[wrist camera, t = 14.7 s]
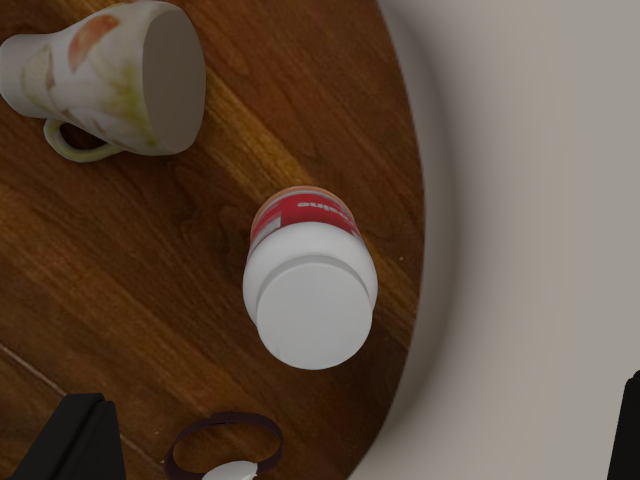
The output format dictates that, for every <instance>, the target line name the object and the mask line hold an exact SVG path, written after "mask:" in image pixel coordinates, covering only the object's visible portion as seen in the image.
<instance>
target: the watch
mask: <svg viewBox="0 0 640 480" xmlns="http://www.w3.org/2000/svg"><path fill="white" fill-rule="evenodd" d="M236 422H240V423H249V424H254V425H258V426H262V427H264V428H266V429H268V430H269V431H271V432H272V433H273V434H274V435H275V436H276V437H277V438H278V440H279V442H280V447H279V449H278V451H277V452H276V453H275V454H274V455H273V456H271V457H270V458H268V459H267V460H264V461H261V462H258V463H254V464H253V463H252V462H248V461H235V462H230V463H227V464H224V465H220V466H218V467H216V468H215V469H213V470H211V471H209V472H208V473H191V472H187V471H185V470H182V469H181V468H180V467H178V466H177V465H176V463H175V461H174V459H173V449H174V446H175V444H176V443H177V442H178V441H179V440H181V439H182V438H184V437H185V436H187V435H189V434H191V433H193V432H195V431H198V430H202V429H206V428H210V427H216V426H223V425H235V424H236ZM282 456H283V437H282V433H281V431H280V429H279V428H278V426H277V425H276V424H275V423H274V422H273V421H272V420H271V419H269V418H267V417H265V416H262V415H258V414H253V413H245V412H232V411H230V412H226V413H219V414H214V415H212V416H211V417H210V418H208V419H204V420H201V421H198V422H196V423H194V424H192V425H190V426H188V427H187V428H186V429H184V430H183V431H182V432H181V433H180V434H179V435H178V437H177V438H176V440H175V441H174V443H173V444H172V446H171V447H170V449H169V450H168V452H167V454H166V456H165V460H164V470H165V473H166V475H167V477H168V478H169V479H170V480H252V479H253V477H254V476H257V475H259V474H262V473H265V472H268V471H270V470H271V469H273V468H274V467H275V466H276V465H277V464H278V463H279V462H280V460H281V458H282Z"/></svg>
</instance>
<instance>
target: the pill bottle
mask: <svg viewBox="0 0 640 480" xmlns="http://www.w3.org/2000/svg"><path fill="white" fill-rule="evenodd" d="M377 288H378V284H377V275H376V271H375V267H374V264H373V261H372V259H371V257H370V255H369V252H368V250H367V248H366V246H365V244H364V241H363V239H362V237H361V235H360V233H359V231H358V229H357V227H356V225H355V222H354V220H353V218H352V217H351V215H350V214H349V212H348V211H347V210H346V209H345V208H344V207H343V206H342V205H341V204H340V203H339V202H338V201H336V200H335V199H334V198H332V197H330V196H328V195H326V194H323V193H320V192H316V191H309V190H302V191H294V192H290V193H287V194H285V195H283V196H281V197H279V198H277V199H275V200H274V201H273V202H271V203H270V204H269V205H268V206H267V207H266V208H265V209H264V210H263V212H262V213H261V215H260V216H259V218H258V220H257V222H256V225H255V228H254V231H253V235H252V239H251V244H250V249H249V254H248V258H247V263H246V267H245V271H244V277H243V297H244V302H245V306H246V309H247V311H248V313H249V316H250V317H251V319H252V321H253V322H254V323H255V325H256V326H257V329H258V332H259V335H260V338H261V340H262V342H263V343H264V345H265V346H266V348H267V349H268V350H269V351H270V352H271V353H272V354H273V355H274V356H275V357H276V358H278V359H279V360H281V361H282V362H284V363H286V364H288V365H291V366H294V367H297V368H302V369H316V370H318V369H324V368H329V367H332V366H335V365H338V364H340V363H342V362H344V361H346V360H347V359H349V358H350V357H351V356H353V355H354V354H355V353H356V352H357V351H358V350H359V349H360V348H361V346H362V345H363V343H364V342H365V340H366V338H367V336H368V334H369V331H370V327H371V322H372V311H373V309H374V306H375V302H376V297H377Z"/></svg>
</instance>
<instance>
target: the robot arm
mask: <svg viewBox="0 0 640 480" xmlns="http://www.w3.org/2000/svg"><path fill="white" fill-rule="evenodd" d="M4 480H126V473H125V467H124V460H123V453H122V447H121V440H120V433H119V427H118V420H117V413H116V407H115V404H114V402H113V401H105V398H104V396H103V394H101V393H88V394H69V395H66V396H65V397H64V398H63V399H62V401H61V402H60V404H59V405H58V407H57V408H56V410H55V411H54V413H53V414H52V416H51V417H50V419H49V420H48V422H47V423H46V425H45V426H44V428H43V429H42V431H41V432H40V434H39V435H38V437H37V438H36V440H35V441H34V443H33V444H32V446H31V447H30V449H29V450H28V452H27V453H26V455H25V457H24V458H23V460H22V461H21V463H20V464H19V466H18V467H17V469H16V470H15V472H14V473H13V475H12V476H11V477H8V478H6V479H4ZM607 480H640V370H639V371H637V372H636V373H635V374H634V376H633V378H631V379H628V381H627V382H626V385H625V390H624V394H623V399H622V404H621V409H620V415H619V421H618V425H617V431H616V435H615V441H614V445H613V451H612V456H611V461H610V466H609V471H608V476H607Z"/></svg>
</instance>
